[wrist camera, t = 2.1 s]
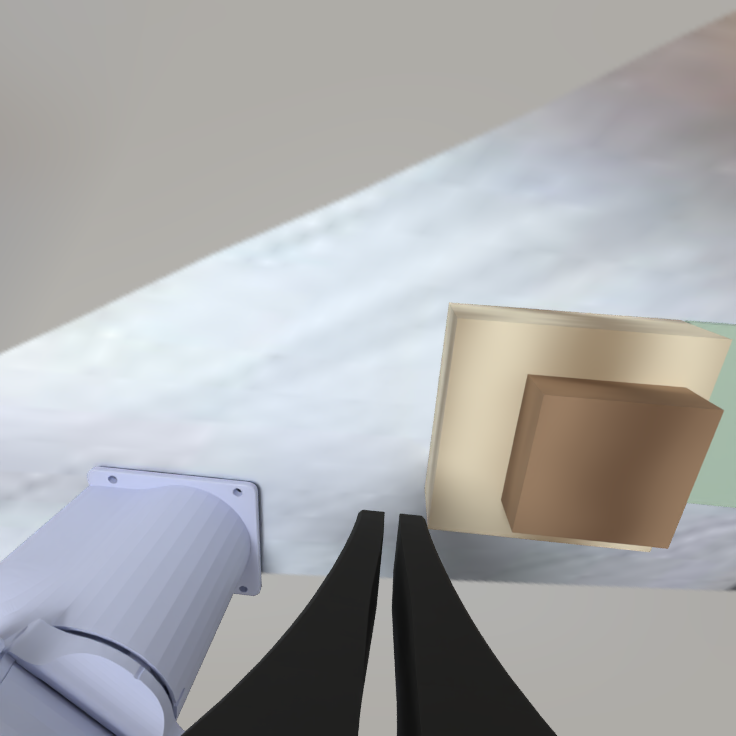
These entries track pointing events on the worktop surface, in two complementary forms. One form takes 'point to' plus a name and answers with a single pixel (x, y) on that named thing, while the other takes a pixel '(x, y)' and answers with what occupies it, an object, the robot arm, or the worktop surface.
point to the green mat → (720, 432)
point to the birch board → (506, 387)
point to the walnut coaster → (605, 459)
